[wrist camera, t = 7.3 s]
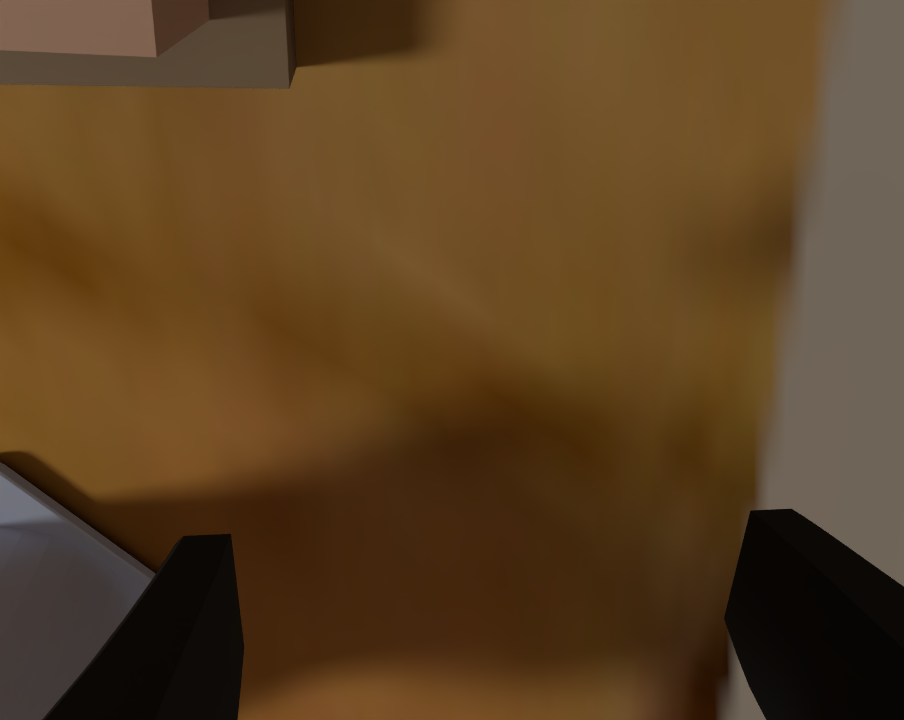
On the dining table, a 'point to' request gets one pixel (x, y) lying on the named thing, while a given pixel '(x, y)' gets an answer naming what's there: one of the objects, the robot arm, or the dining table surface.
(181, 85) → the walnut slab
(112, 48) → the terracotta cube
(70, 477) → the dining table surface
